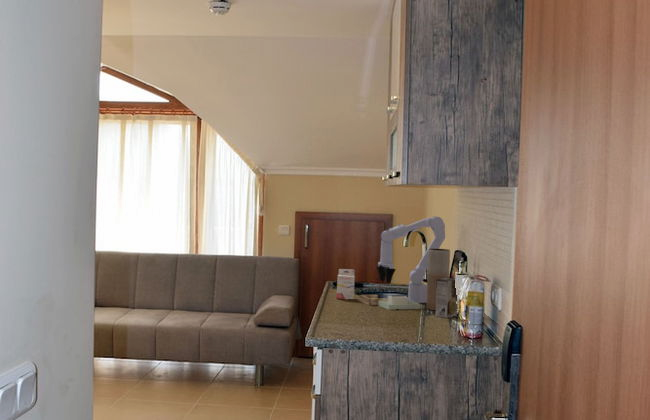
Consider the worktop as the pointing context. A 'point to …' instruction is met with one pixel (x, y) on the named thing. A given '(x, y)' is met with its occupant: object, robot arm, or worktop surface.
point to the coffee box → (446, 298)
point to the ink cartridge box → (345, 284)
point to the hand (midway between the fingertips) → (385, 281)
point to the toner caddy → (397, 299)
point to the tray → (399, 305)
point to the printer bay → (371, 299)
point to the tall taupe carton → (436, 273)
